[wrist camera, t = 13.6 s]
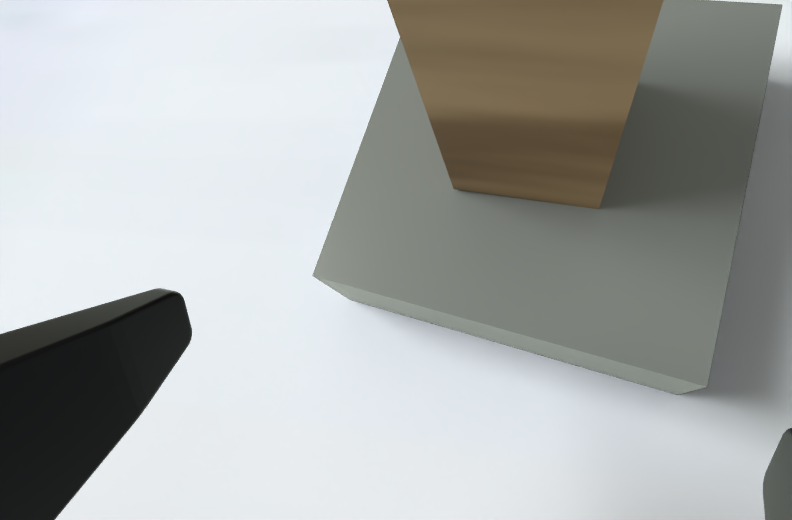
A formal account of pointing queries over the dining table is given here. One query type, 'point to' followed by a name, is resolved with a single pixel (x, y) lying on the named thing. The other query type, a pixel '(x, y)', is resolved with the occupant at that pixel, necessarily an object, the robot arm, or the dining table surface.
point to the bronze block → (528, 89)
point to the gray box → (574, 216)
